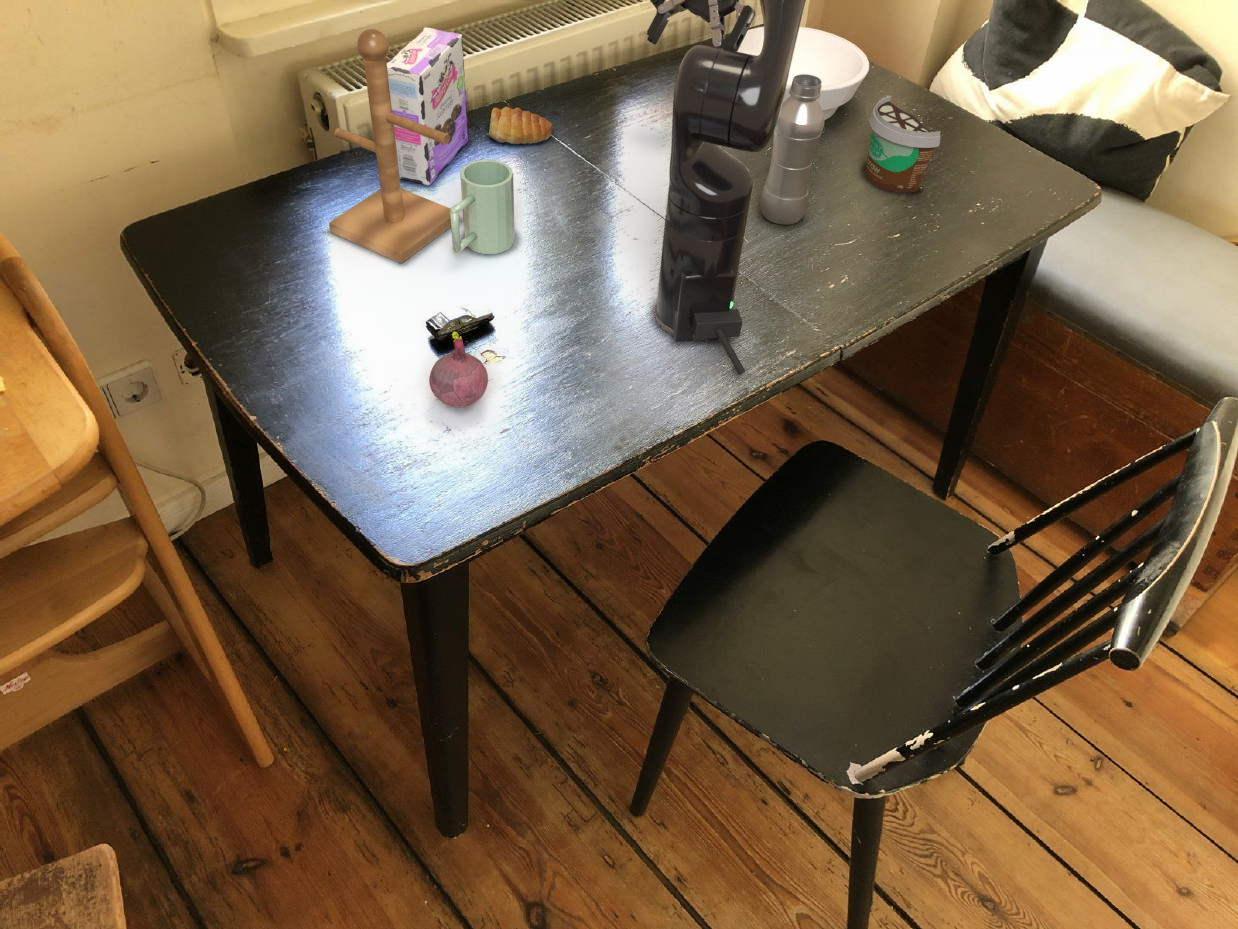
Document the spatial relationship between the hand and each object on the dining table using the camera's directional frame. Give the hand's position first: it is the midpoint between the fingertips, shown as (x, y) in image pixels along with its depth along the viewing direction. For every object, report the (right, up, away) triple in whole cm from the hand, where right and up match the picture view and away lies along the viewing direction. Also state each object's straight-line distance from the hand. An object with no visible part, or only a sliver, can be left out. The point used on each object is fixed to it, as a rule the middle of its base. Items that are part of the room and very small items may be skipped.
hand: (675, 57), depth 141 cm
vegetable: (-25, -51, -29) cm, 64 cm away
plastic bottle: (+15, -23, 0) cm, 27 cm away
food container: (+31, -15, +9) cm, 36 cm away
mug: (-26, -29, -9) cm, 40 cm away
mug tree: (-38, -25, -7) cm, 46 cm away
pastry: (-24, -7, +12) cm, 27 cm away
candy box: (-35, -13, +6) cm, 38 cm away
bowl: (+20, +1, +23) cm, 30 cm away
